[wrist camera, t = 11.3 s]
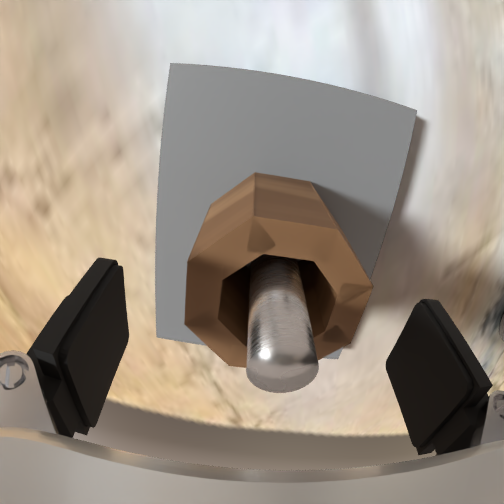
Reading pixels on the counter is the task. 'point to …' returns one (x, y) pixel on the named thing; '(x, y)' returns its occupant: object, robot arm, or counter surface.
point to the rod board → (270, 161)
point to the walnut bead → (279, 244)
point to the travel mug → (502, 328)
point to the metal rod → (279, 327)
